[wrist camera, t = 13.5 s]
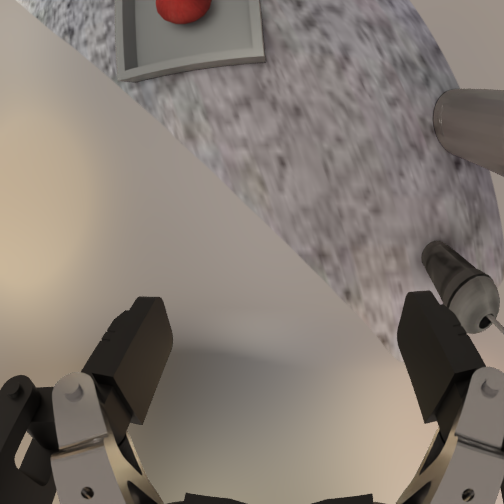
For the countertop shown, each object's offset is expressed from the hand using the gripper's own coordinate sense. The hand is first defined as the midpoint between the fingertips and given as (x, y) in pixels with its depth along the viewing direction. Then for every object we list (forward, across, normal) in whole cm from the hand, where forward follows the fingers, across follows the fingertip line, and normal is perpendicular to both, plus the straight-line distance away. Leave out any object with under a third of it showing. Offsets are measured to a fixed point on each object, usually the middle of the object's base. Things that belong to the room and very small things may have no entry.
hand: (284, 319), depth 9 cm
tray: (+28, +9, -20) cm, 36 cm away
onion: (+27, +9, -20) cm, 35 cm away
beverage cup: (+28, -22, +13) cm, 38 cm away
